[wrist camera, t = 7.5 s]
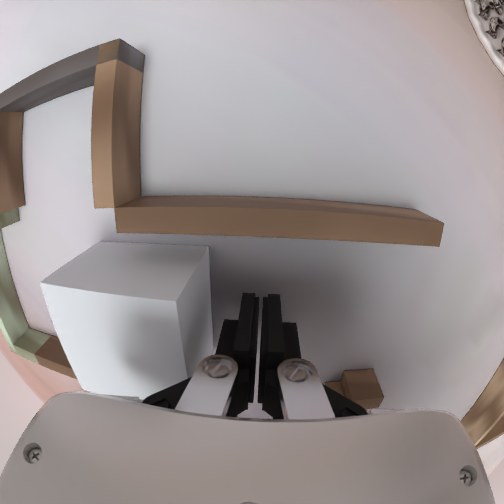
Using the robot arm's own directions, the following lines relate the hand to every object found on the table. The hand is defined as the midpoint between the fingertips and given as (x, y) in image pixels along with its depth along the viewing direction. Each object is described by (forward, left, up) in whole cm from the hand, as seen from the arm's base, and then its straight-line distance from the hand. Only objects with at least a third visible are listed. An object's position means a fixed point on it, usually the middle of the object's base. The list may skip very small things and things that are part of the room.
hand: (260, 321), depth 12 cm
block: (0, +5, -1) cm, 6 cm away
